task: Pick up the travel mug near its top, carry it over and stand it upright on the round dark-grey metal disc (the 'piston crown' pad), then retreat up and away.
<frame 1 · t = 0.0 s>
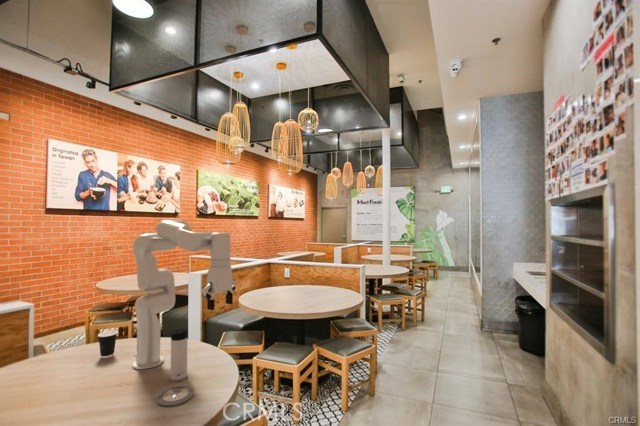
hand: (220, 306, 123), 31 cm above the table, fingers open, 9 cm apart
crown disc: (175, 397, 114), on the table
travel mug: (179, 379, 128), on the table
dixie cup: (107, 356, 151), on the table
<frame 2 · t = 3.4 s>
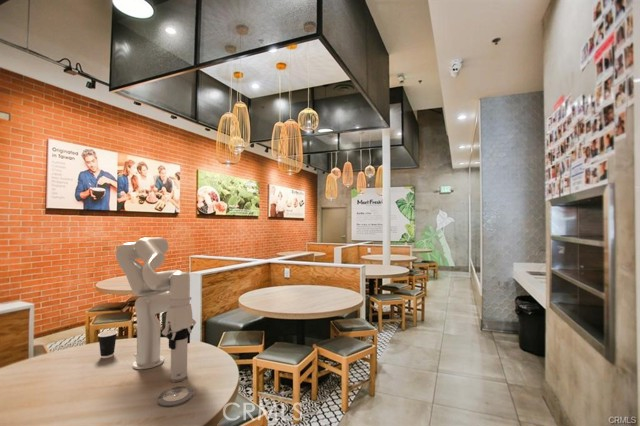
hand: (179, 345, 129), 14 cm above the table, fingers closed on travel mug, 6 cm apart
travel mug: (179, 379, 128), on the table, touching gripper
everything else where it was.
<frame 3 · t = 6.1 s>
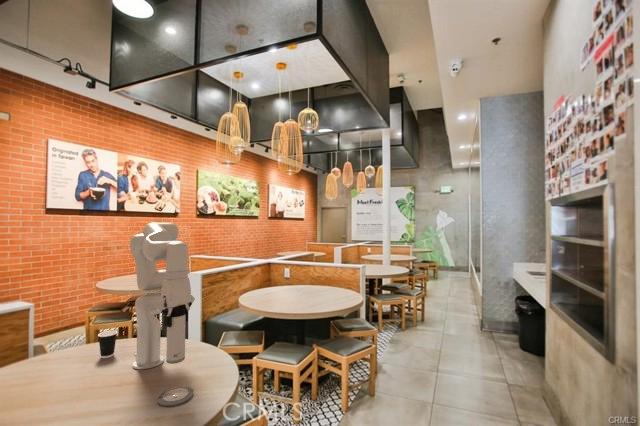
hand: (176, 323, 115), 27 cm above the table, fingers closed on travel mug, 6 cm apart
travel mug: (176, 360, 115), point 13 cm above the table, touching gripper
everything else where it was.
when the fingers open (16 cm above the table, at t = 8.9 s): travel mug drops 1 cm, resting on crown disc.
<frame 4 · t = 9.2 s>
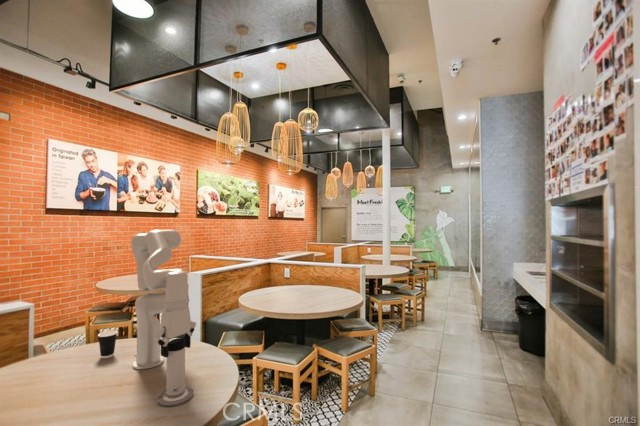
hand: (176, 351, 115), 17 cm above the table, fingers open, 9 cm apart
travel mug: (176, 394, 114), point 1 cm above the table, touching crown disc
everything else where it was.
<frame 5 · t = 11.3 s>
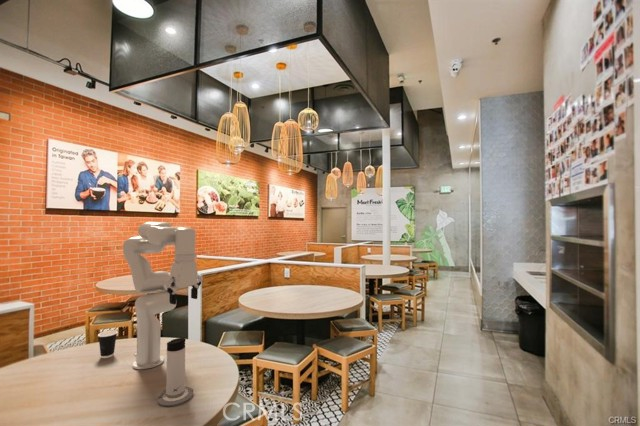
hand: (183, 301, 124), 33 cm above the table, fingers open, 9 cm apart
nothing on the table moved.
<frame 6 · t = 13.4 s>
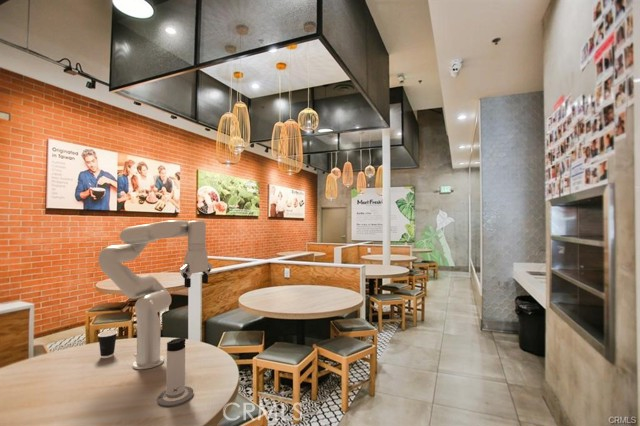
hand: (196, 285, 141), 36 cm above the table, fingers open, 9 cm apart
nothing on the table moved.
at the end: travel mug 0.3 cm from the crown disc (horizontally); travel mug tilted 0°; the gripper is holding nothing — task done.
